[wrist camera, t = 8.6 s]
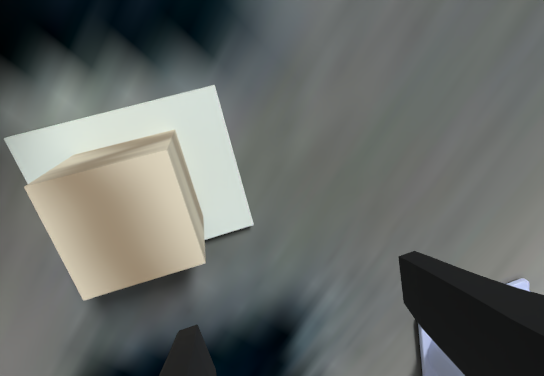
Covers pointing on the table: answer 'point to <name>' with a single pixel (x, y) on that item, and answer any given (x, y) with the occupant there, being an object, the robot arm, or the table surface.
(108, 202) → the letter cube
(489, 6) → the table surface
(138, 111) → the sage pad
